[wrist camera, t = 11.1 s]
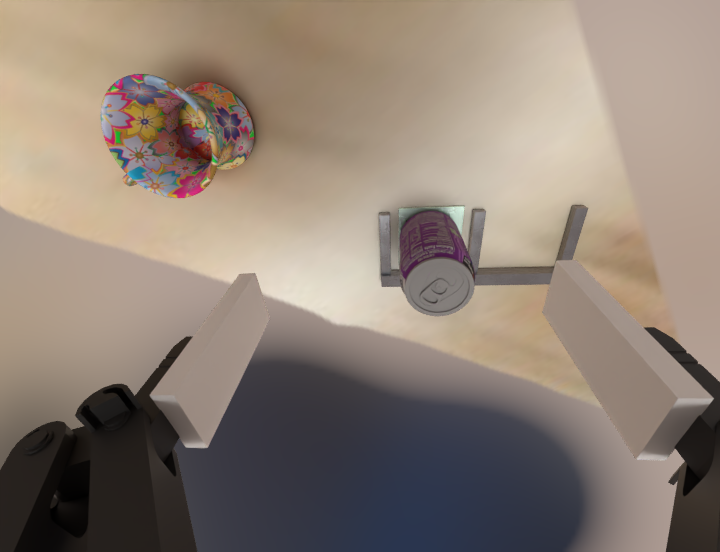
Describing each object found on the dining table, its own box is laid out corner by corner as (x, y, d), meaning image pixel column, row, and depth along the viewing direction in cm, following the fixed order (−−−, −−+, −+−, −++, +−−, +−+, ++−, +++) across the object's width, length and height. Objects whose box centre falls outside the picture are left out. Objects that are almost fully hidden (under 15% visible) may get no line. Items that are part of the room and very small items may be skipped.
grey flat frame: (379, 208, 38) (379, 213, 37) (584, 200, 36) (592, 205, 34) (381, 280, 43) (381, 286, 42) (561, 277, 41) (567, 283, 40)
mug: (216, 56, 31) (146, 43, 22) (278, 140, 35) (239, 159, 26) (143, 129, 35) (59, 144, 26) (205, 198, 39) (150, 232, 30)
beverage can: (433, 271, 41) (444, 331, 31) (388, 243, 40) (384, 296, 30) (470, 229, 38) (497, 281, 28) (422, 197, 37) (432, 238, 26)
